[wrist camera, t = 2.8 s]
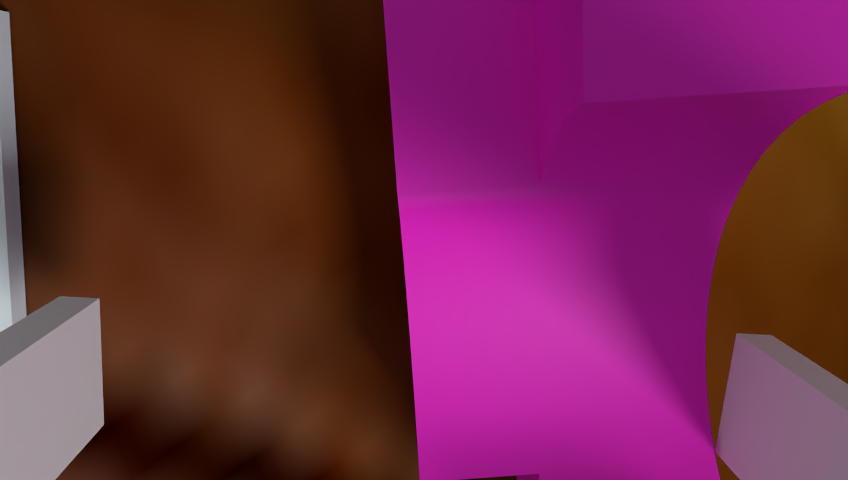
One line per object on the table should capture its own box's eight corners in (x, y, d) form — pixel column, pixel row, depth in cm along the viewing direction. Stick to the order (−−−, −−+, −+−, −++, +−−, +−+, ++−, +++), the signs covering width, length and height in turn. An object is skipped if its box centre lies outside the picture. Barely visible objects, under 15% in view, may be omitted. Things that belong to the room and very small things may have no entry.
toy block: (386, -11, 15) (367, -116, 8) (658, -29, 15) (896, -150, 8) (428, 560, 18) (443, 873, 11) (652, 543, 18) (817, 842, 11)
